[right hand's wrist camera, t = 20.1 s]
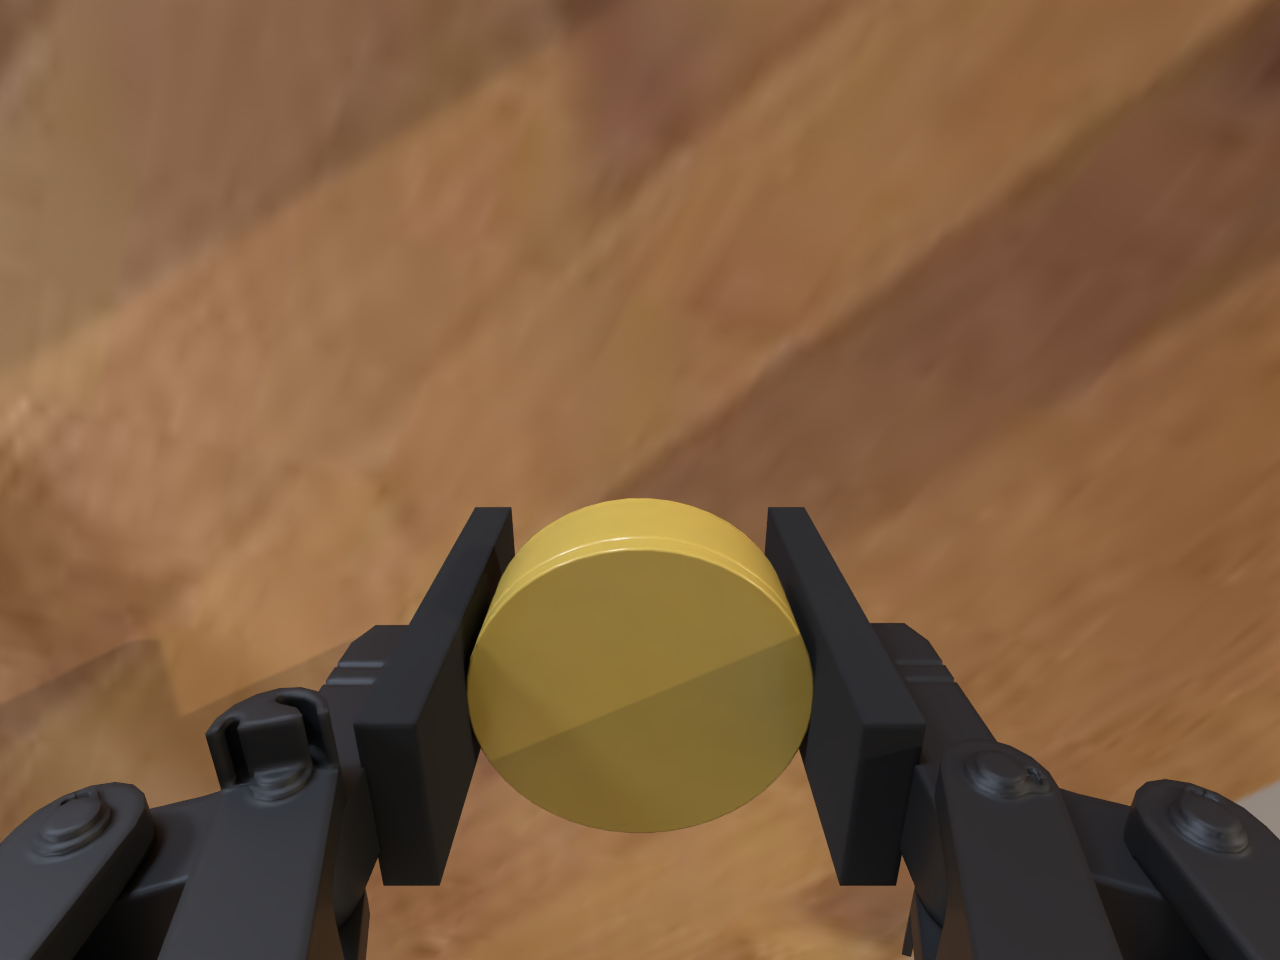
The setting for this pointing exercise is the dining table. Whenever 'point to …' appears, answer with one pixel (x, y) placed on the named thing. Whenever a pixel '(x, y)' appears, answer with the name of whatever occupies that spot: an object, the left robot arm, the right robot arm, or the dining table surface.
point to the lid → (640, 669)
